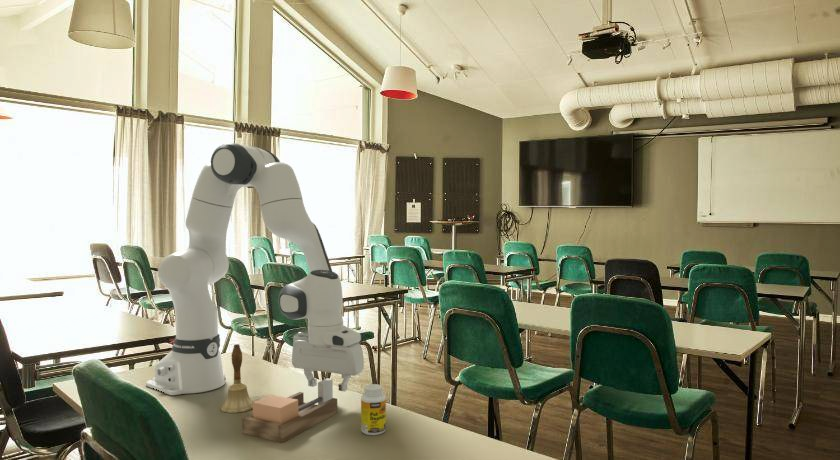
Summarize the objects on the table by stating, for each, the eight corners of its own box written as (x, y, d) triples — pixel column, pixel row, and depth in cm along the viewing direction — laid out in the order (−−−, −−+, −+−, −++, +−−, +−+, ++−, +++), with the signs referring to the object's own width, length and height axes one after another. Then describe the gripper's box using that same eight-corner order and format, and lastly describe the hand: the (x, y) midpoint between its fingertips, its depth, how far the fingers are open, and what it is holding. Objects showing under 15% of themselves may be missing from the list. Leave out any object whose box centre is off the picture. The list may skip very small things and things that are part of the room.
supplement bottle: (368, 438, 127) (368, 392, 126) (357, 430, 131) (356, 385, 131) (390, 432, 130) (390, 387, 129) (378, 424, 134) (378, 381, 134)
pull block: (253, 430, 130) (252, 402, 130) (317, 399, 151) (317, 374, 151) (281, 437, 127) (280, 408, 126) (343, 404, 148) (342, 378, 147)
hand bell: (214, 407, 147) (213, 345, 146) (245, 399, 152) (243, 339, 152) (230, 416, 141) (229, 350, 140) (261, 407, 147) (260, 344, 146)
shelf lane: (242, 433, 130) (242, 417, 130) (299, 405, 148) (299, 391, 147) (282, 442, 125) (282, 426, 124) (337, 412, 142) (337, 398, 142)
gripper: (285, 333, 149) (287, 386, 149) (352, 340, 140) (353, 397, 140) (301, 328, 155) (302, 380, 155) (366, 335, 145) (367, 389, 146)
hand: (327, 388), depth 148 cm, fingers open, 8 cm apart
